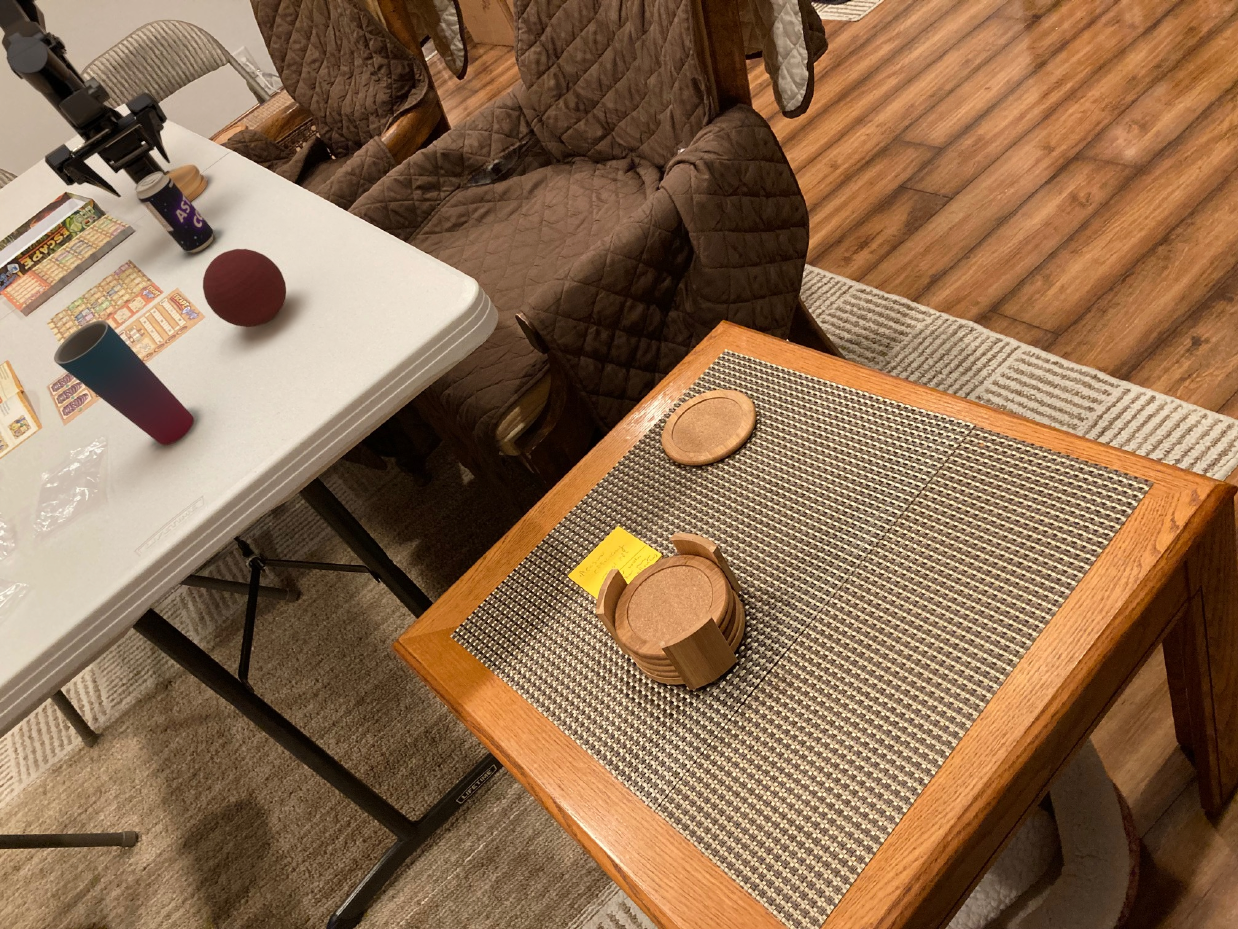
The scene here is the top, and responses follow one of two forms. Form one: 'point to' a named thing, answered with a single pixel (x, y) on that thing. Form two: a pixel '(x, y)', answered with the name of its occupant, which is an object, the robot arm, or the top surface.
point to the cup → (123, 381)
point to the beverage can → (174, 212)
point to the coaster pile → (188, 181)
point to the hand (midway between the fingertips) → (144, 178)
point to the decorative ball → (244, 287)
